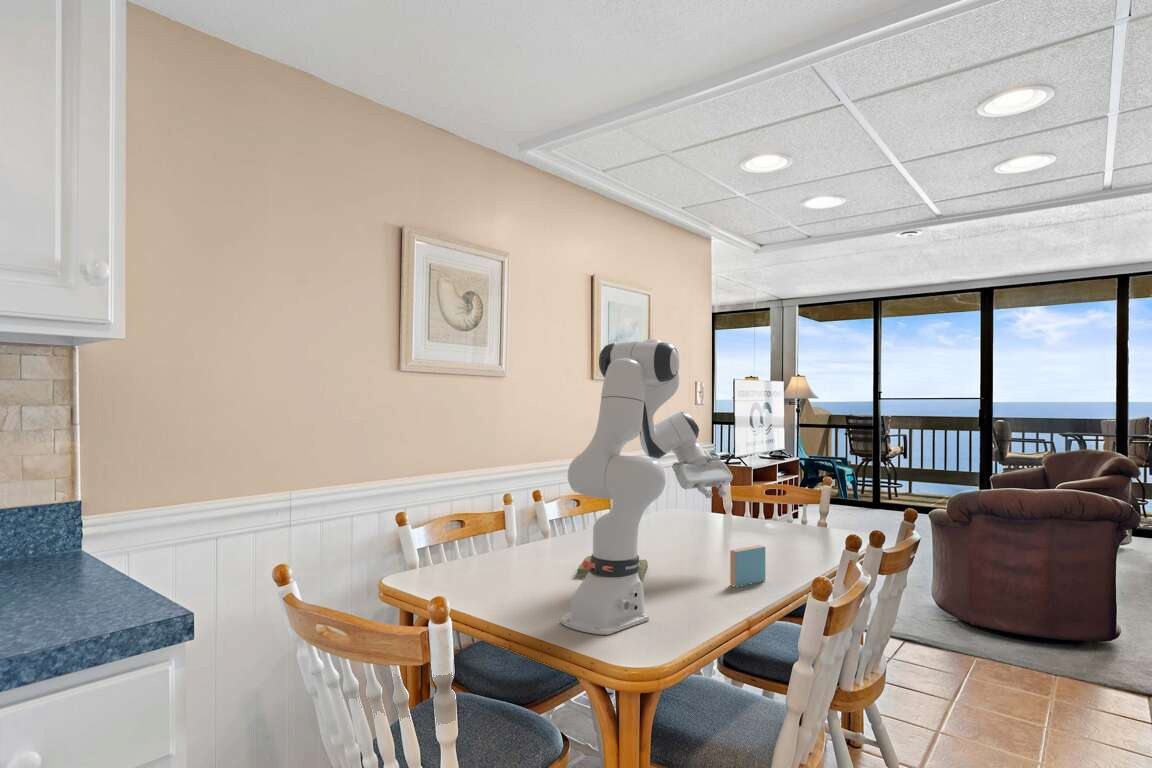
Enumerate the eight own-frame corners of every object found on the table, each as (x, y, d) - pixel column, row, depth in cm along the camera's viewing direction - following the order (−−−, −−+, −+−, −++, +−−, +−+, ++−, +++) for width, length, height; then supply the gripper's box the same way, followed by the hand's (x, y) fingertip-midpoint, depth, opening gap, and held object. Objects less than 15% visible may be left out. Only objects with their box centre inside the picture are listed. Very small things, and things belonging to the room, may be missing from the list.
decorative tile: (585, 565, 204) (585, 554, 204) (648, 569, 200) (648, 557, 200) (573, 581, 186) (573, 569, 186) (641, 586, 182) (641, 573, 182)
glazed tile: (736, 587, 179) (736, 551, 179) (730, 585, 181) (730, 550, 181) (765, 581, 186) (765, 546, 186) (758, 579, 188) (758, 545, 188)
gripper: (674, 456, 195) (697, 492, 187) (722, 453, 206) (745, 487, 198) (665, 469, 199) (686, 505, 190) (712, 466, 210) (734, 499, 201)
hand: (717, 496), depth 194 cm, fingers open, 4 cm apart
